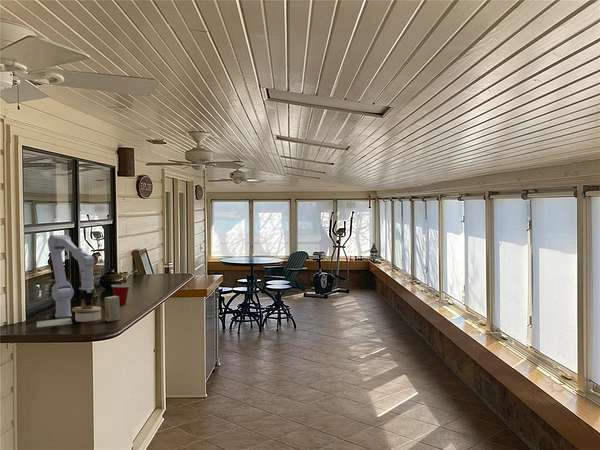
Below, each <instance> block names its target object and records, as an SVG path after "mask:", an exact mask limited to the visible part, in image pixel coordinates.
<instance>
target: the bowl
mask: <svg viewBox="0 0 600 450" xmlns="http://www.w3.org/2000/svg"><path fill="white" fill-rule="evenodd" d="M74 313H75V315H74V316H75V317H74V318H75V322H79V323H80V322H81V323H82V322H84V323H85V322H86V323H87V322H95V321H99V320H101V319H102V310H101V311H97V312H74Z"/></svg>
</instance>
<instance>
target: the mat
mask: <svg viewBox="0 0 600 450" xmlns="http://www.w3.org/2000/svg"><path fill="white" fill-rule="evenodd" d="M72 324H73V321H72V318H70V317H69V318H68V317H67V318H56V319H49V320H39V321H36V328H43V327H54V326H55V327H56V326H64V325H72Z"/></svg>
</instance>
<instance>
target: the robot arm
mask: <svg viewBox="0 0 600 450" xmlns="http://www.w3.org/2000/svg"><path fill="white" fill-rule="evenodd" d="M47 247H48V251H49V253H50V257H51V263H52V268H53V274H54V280H55V283H54V284H53V286H52V287H51V297H52V299H53V300H54V301H55V314H54V316H55V318H56V319H59V318H65V317H67V318H68V317H72V316H73V315H72V312H71V311H72V309H71V300H72V298H73V297H74V294H75V291H74V288H73V286H72V283H70V282H69V281H68V280H67V276H66V270H65V265H64V261H63V256H62V255H63V254H62V253H63V251H65V250H66V249H67V250H68V251H70V252H71V256H72V257H73V258H74V259H75V260H76V261H77V264H78V267H79V270H80V279H81V280H80V281H81V286H80V287H79V288H78V290H81V292H80V293H81V294H82V297H83V299H85V303H86V306H89V305H91V300H93V296H94V294H95V292H94V289H95V287H94V266H95V264H96V259H95V256H94V255H93V254H88V253H87V252H86V251H85V250H83V248H82V247H77V245H75V244H74V242H73V241H72V238H71V236H69V234H60V235H59V234H56V235H53V234H51V235H49V237H48V239H47Z"/></svg>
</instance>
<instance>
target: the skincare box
mask: <svg viewBox="0 0 600 450" xmlns="http://www.w3.org/2000/svg"><path fill="white" fill-rule="evenodd" d="M120 306H121V305H120V304H119V296H114V295H112V296H106V297H104V313H105V315H104V317H105V318H104V319H105V320H106V321H105V320H104V321H105V322H109V321H111V322H113V321H119V320H121V307H120Z"/></svg>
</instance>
